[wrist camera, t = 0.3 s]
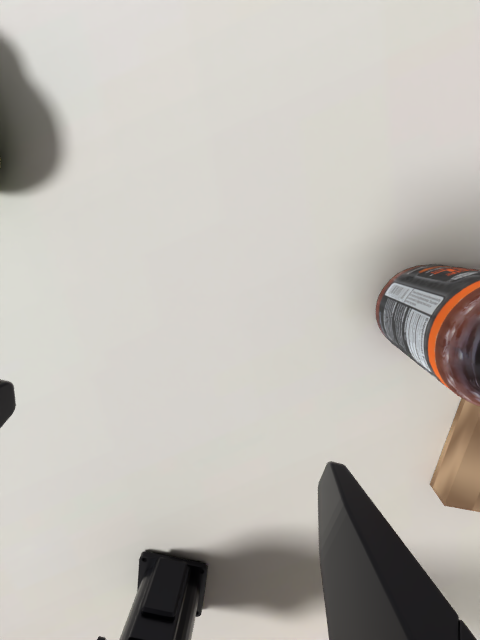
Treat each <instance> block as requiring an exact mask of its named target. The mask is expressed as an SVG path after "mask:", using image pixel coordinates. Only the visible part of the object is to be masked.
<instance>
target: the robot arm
mask: <svg viewBox="0 0 480 640" xmlns="http://www.w3.org/2000/svg"><path fill="white" fill-rule="evenodd" d="M15 406H16V403H15V394H14V386H13V384H12V383H11V382H9V381H5V380H1V379H0V428H1V427H2V426H3V424H4V423H5V422H6V421H7V420H8V418H9V417H10V416H11V415H12V414H13V412H14V410H15ZM318 523H319V555H320V566H321V574H322V583H323V591H324V599H325V608H326V616H327V625H328V633H329V640H477V639H476V638H475V637H474V635H473V634H472V633H471V631H470V630H469V629H468V627H467V626H466V625H465V624H464V622H463V621H462V620H459V617H458V615H457V613H456V612H455V610H454V609H453V608H452V607H451V605H450V604H449V603H448V601H447V600H446V599H445V597H444V596H443V595H442V593H441V592H440V591H439V589H438V588H437V587H436V585H435V584H434V583H433V581H432V580H431V579H430V577H429V576H428V575H427V573H426V572H425V571H424V569H423V568H422V567H421V565H420V564H419V563H418V561H417V560H416V559H415V557H414V556H413V555H412V554H411V552H410V551H409V550H408V548H407V547H406V546H405V544H404V543H403V542H402V540H401V539H400V538H399V536H398V535H397V534H396V532H395V531H394V530H393V528H392V527H391V526H390V524H389V523H388V522H387V520H386V519H385V518H384V516H383V515H382V514H381V512H380V511H379V510H378V508H377V507H376V506H375V504H374V503H373V502H372V501H371V499H370V498H369V497H368V495H367V494H366V493H365V491H364V490H363V489H362V487H361V486H360V485H359V483H358V482H357V481H356V479H355V478H354V477H353V475H352V474H351V473H350V471H349V470H348V469H347V467H346V466H345V465H343V464H340V463H336V462H332V461H330V462H328V463H327V465H326V467H325V470H324V472H323V474H322V476H321V479H320V481H319V485H318ZM207 571H208V566H207V565H206V564H205V563H201V562H196V561H191V560H186V559H181V558H176V557H171V556H166V555H161V554H156V553H151V552H142V554H141V556H140V559H139V574H138V590H137V594H136V597H135V600H134V602H133V605H132V608H131V610H130V613H129V616H128V618H127V621H126V624H125V626H124V629H123V632H122V635H121V637H120V640H191V637H192V632H193V626H194V621H195V616H196V617H198V616H200V615H201V612H202V606H203V599H204V592H205V585H206V578H207ZM105 639H106V638H104V637H101V636H99V637H98V639H97V640H105Z"/></svg>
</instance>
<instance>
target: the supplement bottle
mask: <svg viewBox="0 0 480 640" xmlns="http://www.w3.org/2000/svg"><path fill="white" fill-rule="evenodd" d="M376 319H377V323H378V326H379V328H380V330H381V332H382V333H383V335H384V336H385V337H386V338H387V339H388V340H389V341H390V342H391V343H392V344H394V345H395V346H396V347H397V348H399V349H400V350H401V351H402V352H403V353H405V354H406V355H407V356H409V357H410V358H411V359H412V360H414V361H415V362H416V363H417V364H418V365H420V366H421V367H422V368H424V369H425V370H426V371H427V372H429V373H430V374H431V375H432V376H434V377H435V378H436V379H437V380H438V381H440V382H441V383H442V384H444V385H445V386H446V387H448V388H449V389H450V390H451V391H453V392H454V393H455V394H457V395H458V396H460V397H461V398H463V399H465V400H466V401H468V402H470V403H472V404H474V405H476V406H479V407H480V270H475V269H466V268H461V267H450V266H443V265H421V266H416V267H412V268H409V269H406V270H404V271H402V272H400V273H398V274H397V275H395V276H394V277H393V278H392V279H391V280H390V281H389V282H388V283H387V284H386V286H385V287H384V288H383V289H382V291H381V293H380V295H379V297H378V300H377V305H376Z"/></svg>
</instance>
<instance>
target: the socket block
mask: <svg viewBox="0 0 480 640" xmlns="http://www.w3.org/2000/svg"><path fill="white" fill-rule="evenodd" d="M430 485H431V487H432V488H433V490H434V491H435V493H436V494H437V496H438V497H439V499H440V500H441V502H442V503H443V504H444V506H449V507H455V508H460V509H466V510H471V511H477V512H480V407H479V406H476V405H474V404H472V403H470V402H468V401H466V400H465V399H463V398H462V399H461V401H460V404H459V407H458V409H457V412H456V415H455V418H454V420H453V423H452V426H451V428H450V431H449V434H448V437H447V439H446V442H445V445H444V447H443V450H442V453H441V455H440V458H439V461H438V464H437V466H436V469H435V472H434V474H433V477H432V480H431V483H430Z"/></svg>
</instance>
